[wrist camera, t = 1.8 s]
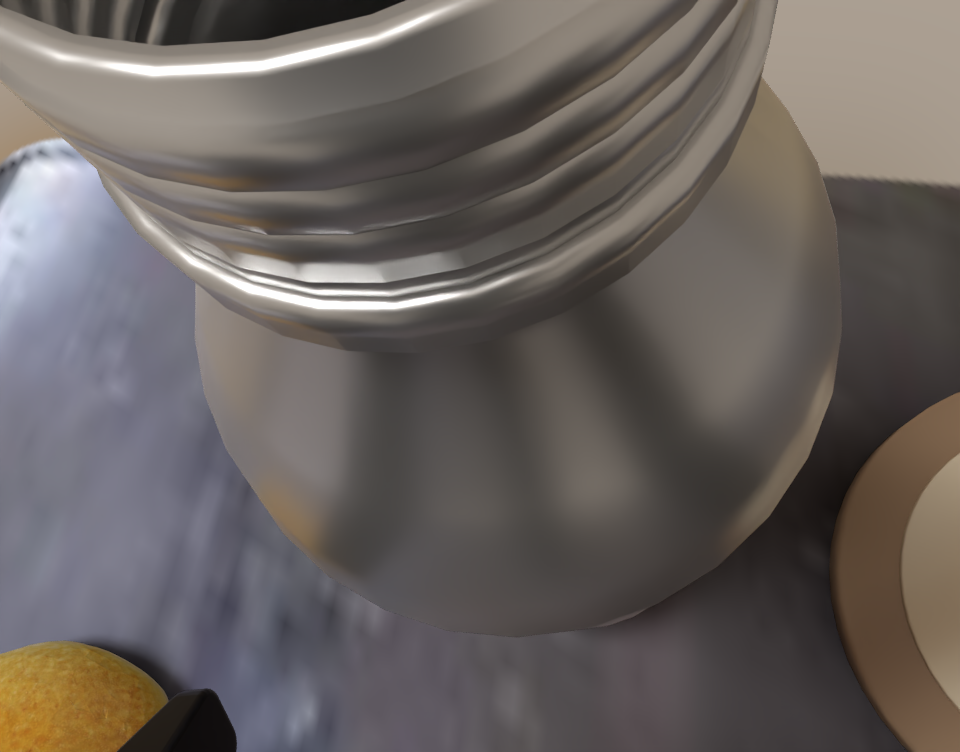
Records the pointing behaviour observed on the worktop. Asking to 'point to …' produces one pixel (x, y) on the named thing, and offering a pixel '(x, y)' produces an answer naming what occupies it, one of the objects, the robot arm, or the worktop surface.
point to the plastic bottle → (473, 276)
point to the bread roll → (72, 699)
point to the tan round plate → (905, 579)
